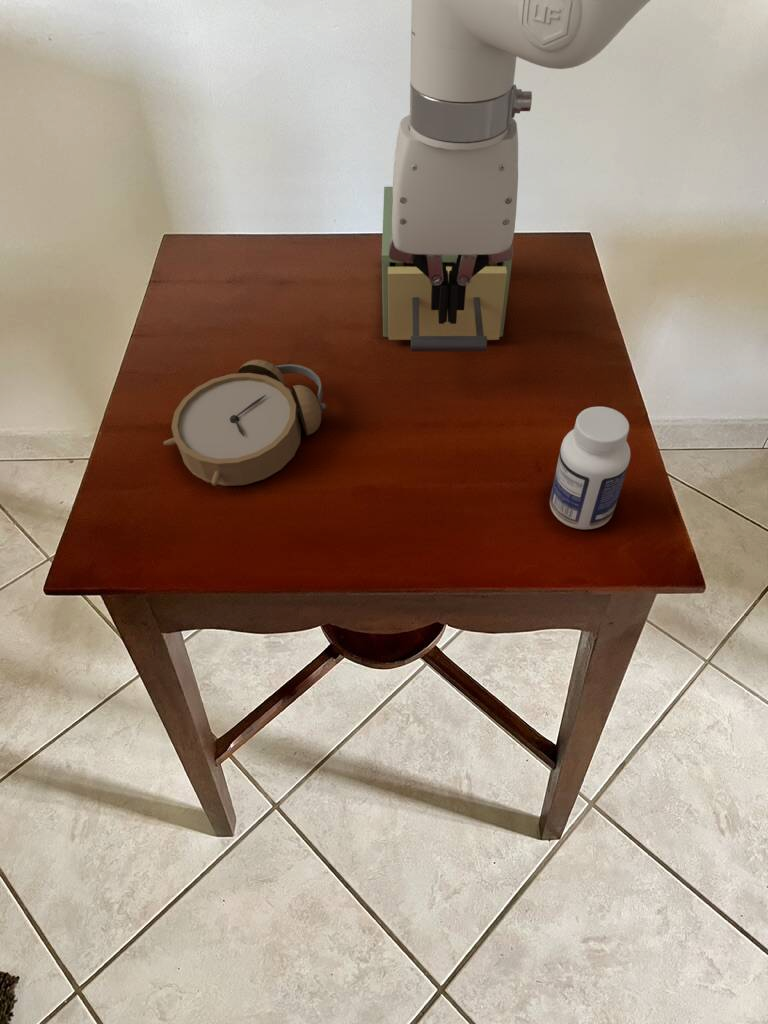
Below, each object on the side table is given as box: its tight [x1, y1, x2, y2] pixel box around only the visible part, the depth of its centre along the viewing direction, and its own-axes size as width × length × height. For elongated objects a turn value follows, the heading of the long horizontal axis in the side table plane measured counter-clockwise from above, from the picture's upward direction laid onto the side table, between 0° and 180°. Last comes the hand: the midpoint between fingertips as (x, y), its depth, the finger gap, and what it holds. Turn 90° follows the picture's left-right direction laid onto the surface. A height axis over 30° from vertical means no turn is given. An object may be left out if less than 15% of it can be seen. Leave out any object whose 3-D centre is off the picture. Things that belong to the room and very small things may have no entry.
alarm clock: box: [163, 359, 327, 487], centre depth 71 cm, size 11×5×15 cm
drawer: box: [388, 262, 507, 352], centre depth 79 cm, size 20×11×8 cm, turn 179°
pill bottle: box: [549, 406, 631, 531], centre depth 62 cm, size 5×5×10 cm
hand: (446, 314), depth 72 cm, fingers closed
